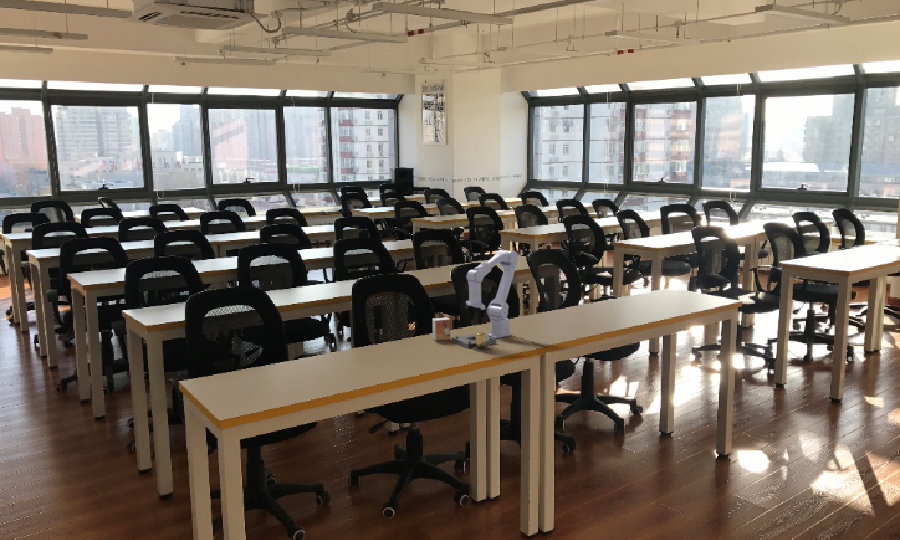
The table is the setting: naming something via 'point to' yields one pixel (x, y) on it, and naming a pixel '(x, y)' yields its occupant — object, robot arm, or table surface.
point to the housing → (471, 340)
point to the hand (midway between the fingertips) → (475, 321)
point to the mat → (480, 349)
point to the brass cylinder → (480, 340)
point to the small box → (441, 329)
